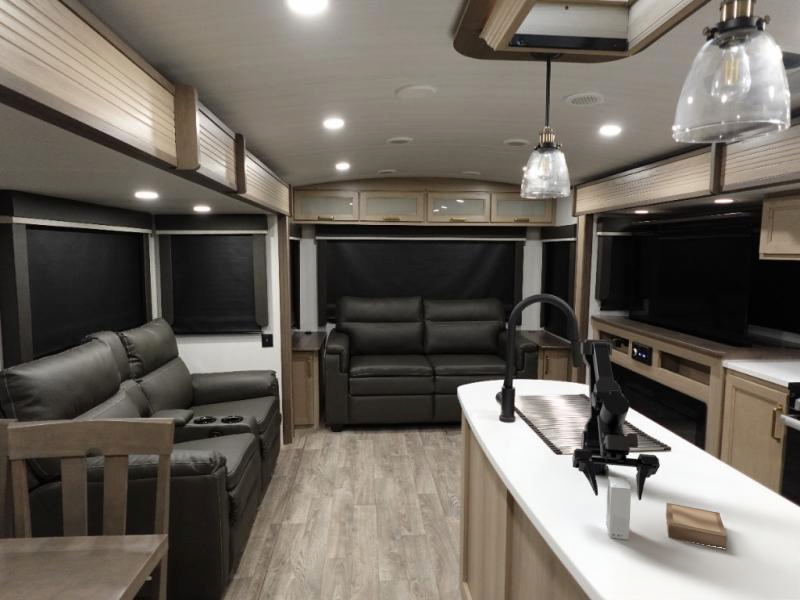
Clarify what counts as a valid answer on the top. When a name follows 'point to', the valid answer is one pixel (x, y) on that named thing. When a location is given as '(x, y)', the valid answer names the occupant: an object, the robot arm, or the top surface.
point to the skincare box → (618, 507)
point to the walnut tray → (695, 525)
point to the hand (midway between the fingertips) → (618, 497)
